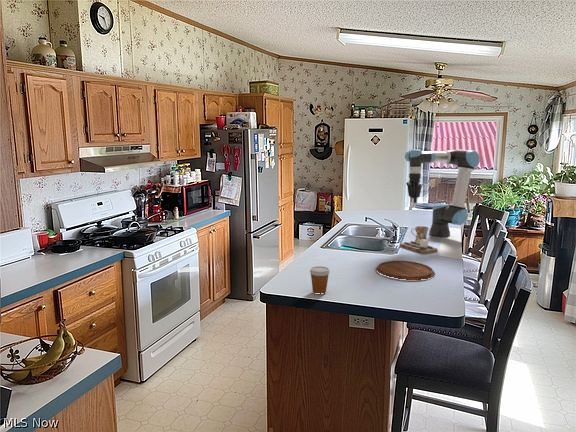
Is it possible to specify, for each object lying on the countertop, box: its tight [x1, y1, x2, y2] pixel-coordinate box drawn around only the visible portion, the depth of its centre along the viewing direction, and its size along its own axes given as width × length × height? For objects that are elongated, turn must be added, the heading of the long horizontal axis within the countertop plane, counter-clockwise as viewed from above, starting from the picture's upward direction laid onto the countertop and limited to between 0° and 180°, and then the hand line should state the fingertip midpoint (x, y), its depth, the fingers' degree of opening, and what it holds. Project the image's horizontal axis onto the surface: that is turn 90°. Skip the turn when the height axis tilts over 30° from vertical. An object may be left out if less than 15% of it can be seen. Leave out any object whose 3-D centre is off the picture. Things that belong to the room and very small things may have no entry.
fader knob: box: [420, 238, 429, 248], centre depth 298 cm, size 3×4×5 cm
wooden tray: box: [399, 240, 438, 255], centre depth 302 cm, size 22×12×3 cm, turn 29°
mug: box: [411, 225, 430, 243], centre depth 321 cm, size 12×9×11 cm
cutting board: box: [375, 260, 436, 280], centre depth 254 cm, size 32×32×2 cm
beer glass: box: [309, 265, 331, 294], centre depth 219 cm, size 10×10×12 cm
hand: (413, 207), depth 310 cm, fingers closed
